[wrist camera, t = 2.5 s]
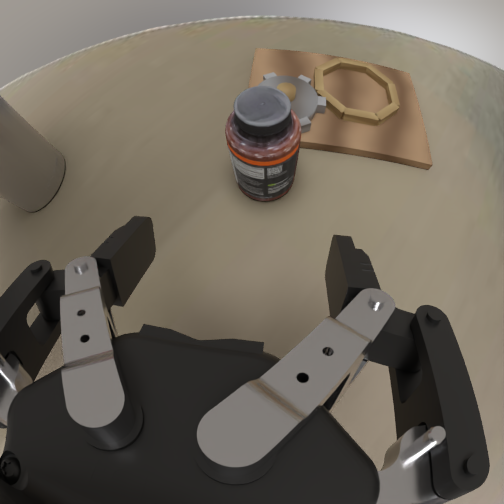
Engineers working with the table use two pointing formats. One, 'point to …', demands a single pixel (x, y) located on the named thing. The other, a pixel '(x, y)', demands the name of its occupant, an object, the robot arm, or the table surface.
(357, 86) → the board
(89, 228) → the table surface
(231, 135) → the supplement bottle
